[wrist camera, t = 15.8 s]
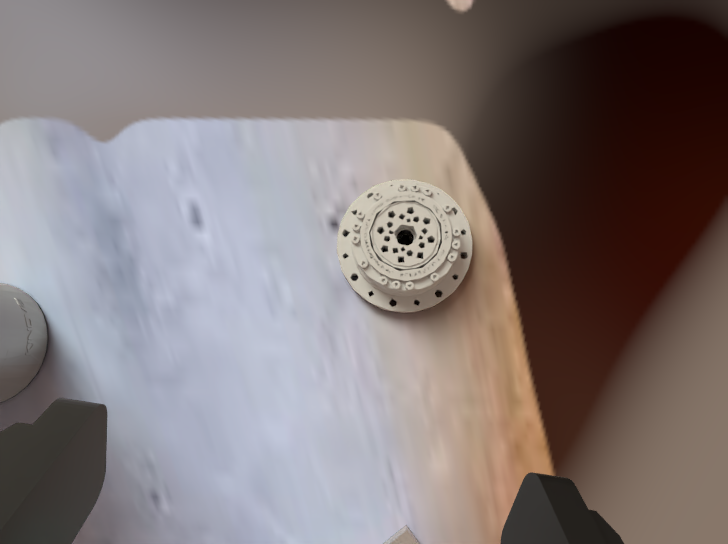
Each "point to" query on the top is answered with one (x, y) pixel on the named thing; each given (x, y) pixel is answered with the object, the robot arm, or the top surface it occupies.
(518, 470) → the top surface
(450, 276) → the mechanical component
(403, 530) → the tray
